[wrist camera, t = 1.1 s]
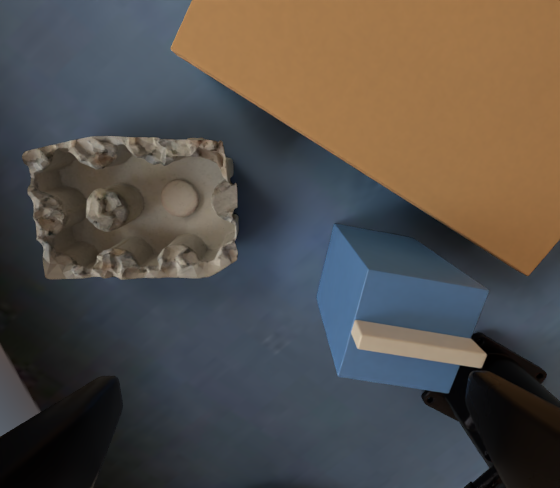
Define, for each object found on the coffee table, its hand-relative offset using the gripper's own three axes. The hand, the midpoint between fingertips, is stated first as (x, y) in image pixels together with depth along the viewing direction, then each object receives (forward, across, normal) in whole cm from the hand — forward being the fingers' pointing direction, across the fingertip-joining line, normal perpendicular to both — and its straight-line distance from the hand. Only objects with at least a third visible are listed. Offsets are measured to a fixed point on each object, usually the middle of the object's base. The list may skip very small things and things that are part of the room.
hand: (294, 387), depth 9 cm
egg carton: (+14, +8, -3) cm, 16 cm away
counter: (+13, -6, -9) cm, 17 cm away
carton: (+13, -5, +2) cm, 14 cm away
